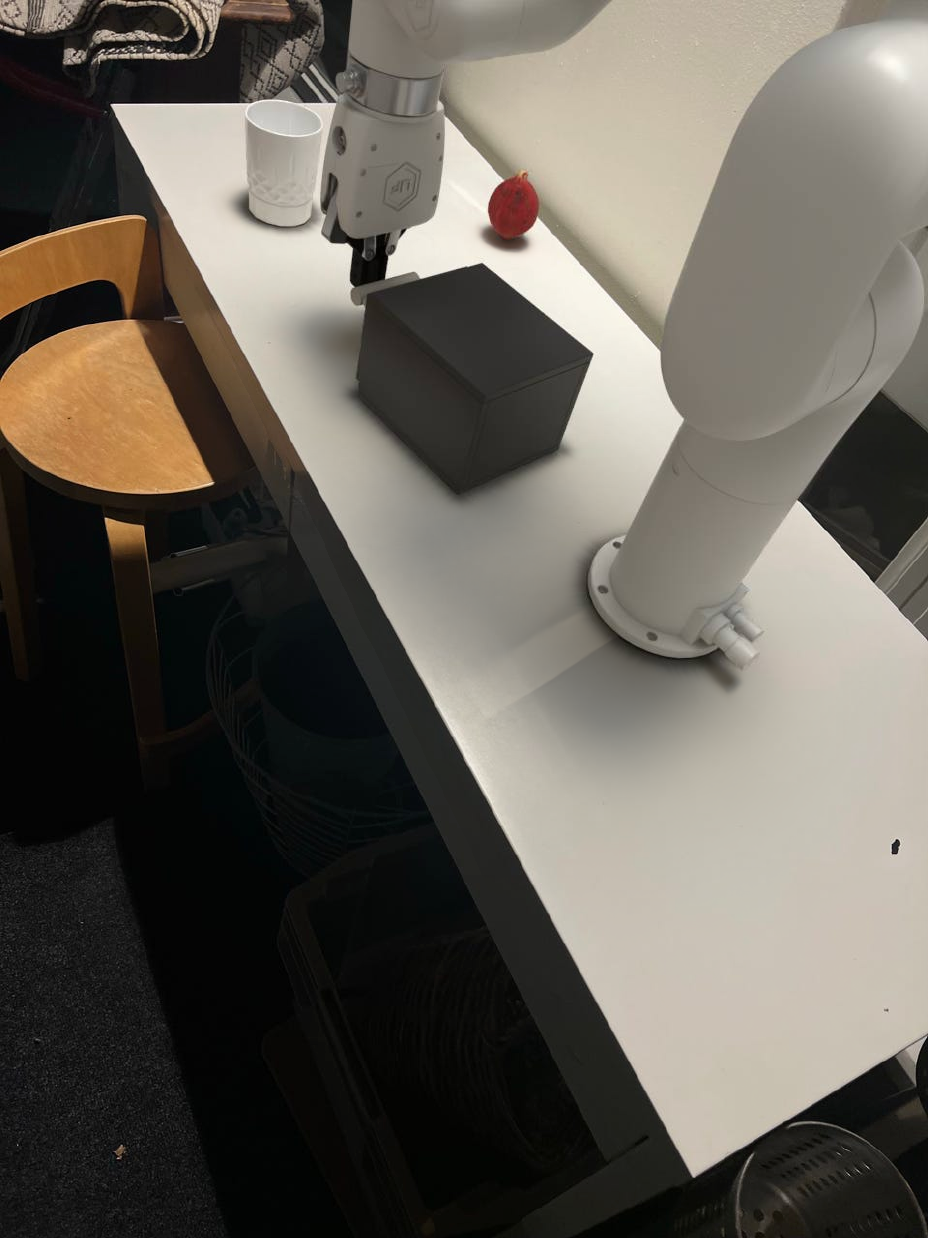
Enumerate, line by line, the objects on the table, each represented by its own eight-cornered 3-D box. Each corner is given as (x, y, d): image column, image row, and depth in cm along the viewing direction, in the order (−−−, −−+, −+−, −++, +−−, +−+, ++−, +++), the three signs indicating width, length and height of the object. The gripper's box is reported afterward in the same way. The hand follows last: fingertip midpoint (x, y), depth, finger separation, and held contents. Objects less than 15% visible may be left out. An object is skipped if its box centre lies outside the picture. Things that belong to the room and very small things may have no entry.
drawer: (325, 349, 85) (333, 263, 78) (418, 320, 91) (434, 238, 84) (448, 468, 78) (468, 385, 71) (540, 428, 84) (567, 348, 77)
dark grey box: (356, 395, 83) (370, 292, 75) (459, 359, 89) (482, 262, 81) (457, 494, 77) (484, 395, 69) (558, 448, 84) (594, 353, 76)
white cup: (328, 225, 100) (337, 132, 92) (263, 234, 96) (266, 138, 89) (295, 189, 103) (300, 96, 96) (231, 196, 100) (231, 101, 92)
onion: (525, 257, 104) (543, 190, 98) (477, 243, 104) (493, 174, 98) (532, 234, 108) (551, 167, 102) (486, 220, 108) (502, 152, 102)
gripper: (344, 115, 66) (323, 330, 80) (492, 94, 74) (450, 293, 88) (286, 70, 69) (276, 285, 83) (435, 54, 77) (403, 253, 91)
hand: (365, 288), depth 86 cm, fingers closed
